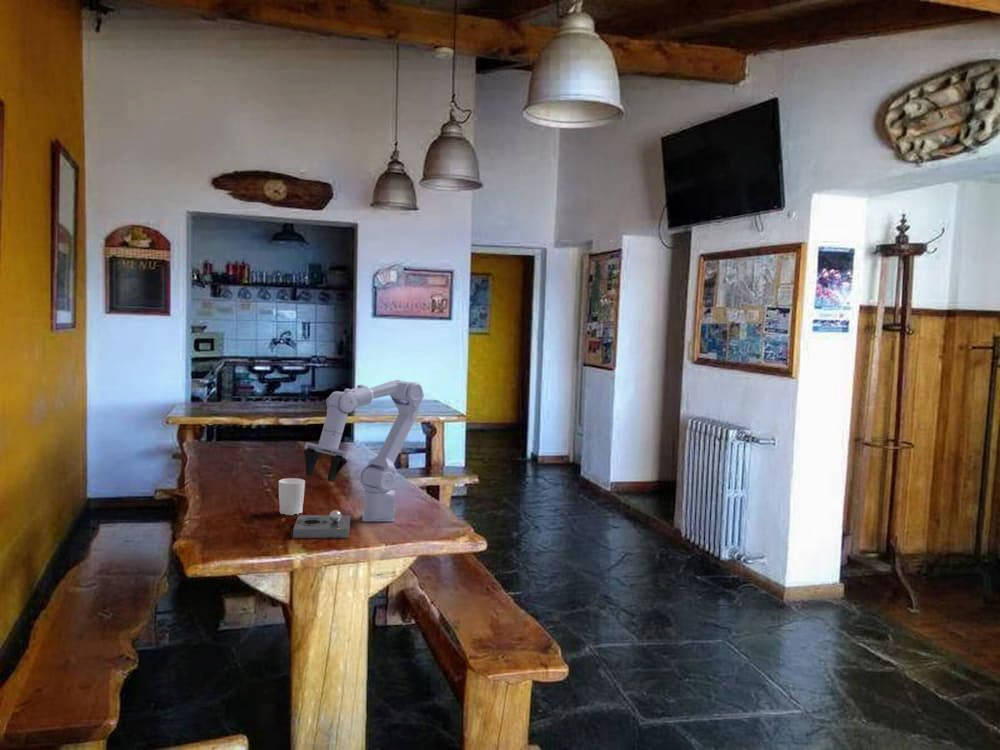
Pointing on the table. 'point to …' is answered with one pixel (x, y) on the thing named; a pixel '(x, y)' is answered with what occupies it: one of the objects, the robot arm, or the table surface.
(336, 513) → the steel ball
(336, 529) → the hole plate
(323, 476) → the table surface
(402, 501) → the table surface
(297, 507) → the white cup
